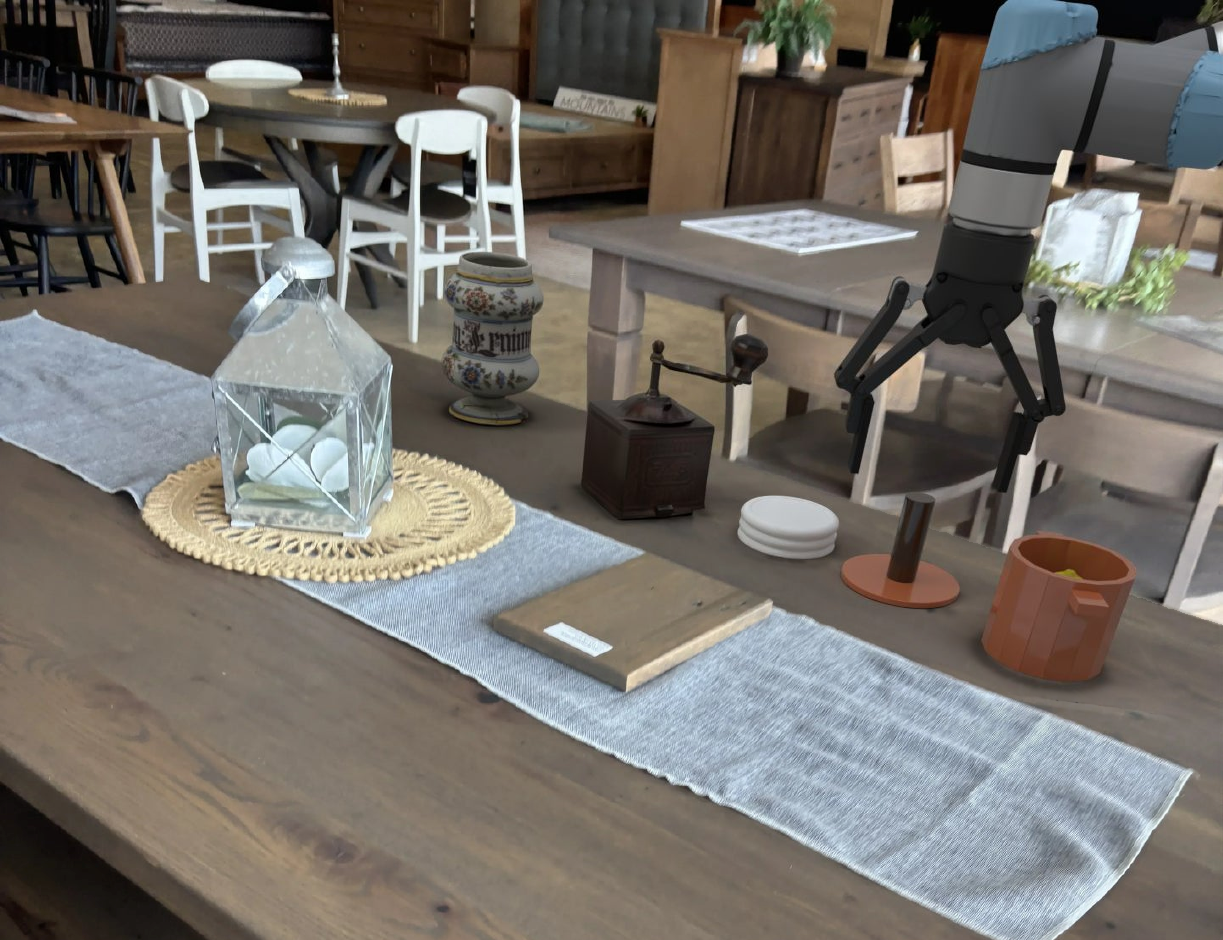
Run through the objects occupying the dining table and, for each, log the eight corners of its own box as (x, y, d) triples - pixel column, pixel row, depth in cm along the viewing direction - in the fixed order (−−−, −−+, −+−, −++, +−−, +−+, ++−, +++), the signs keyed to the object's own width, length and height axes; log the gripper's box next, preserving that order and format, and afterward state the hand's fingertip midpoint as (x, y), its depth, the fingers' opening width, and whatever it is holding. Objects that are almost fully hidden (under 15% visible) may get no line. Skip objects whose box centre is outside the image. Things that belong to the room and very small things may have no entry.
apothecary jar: (520, 435, 144) (529, 274, 134) (426, 418, 146) (427, 259, 136) (548, 409, 154) (557, 257, 144) (459, 394, 156) (462, 243, 145)
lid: (947, 572, 121) (971, 484, 116) (965, 620, 112) (992, 526, 106) (835, 559, 121) (854, 470, 116) (844, 606, 112) (865, 511, 107)
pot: (1076, 627, 113) (1109, 531, 108) (1122, 708, 100) (1162, 604, 95) (966, 613, 113) (994, 517, 108) (998, 693, 100) (1031, 588, 95)
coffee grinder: (620, 523, 124) (639, 341, 113) (578, 485, 132) (592, 313, 121) (749, 513, 130) (778, 339, 120) (701, 477, 138) (724, 312, 128)
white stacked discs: (851, 549, 124) (858, 516, 122) (797, 572, 117) (803, 538, 115) (773, 518, 129) (779, 487, 127) (717, 539, 123) (722, 506, 120)
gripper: (1129, 237, 101) (1051, 481, 113) (837, 200, 101) (790, 448, 113) (1156, 253, 95) (1070, 509, 107) (844, 213, 95) (794, 474, 107)
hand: (926, 478), depth 110 cm, fingers open, 13 cm apart
